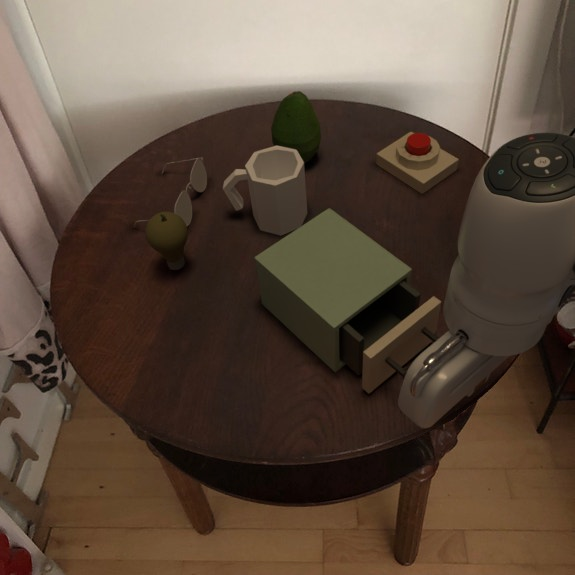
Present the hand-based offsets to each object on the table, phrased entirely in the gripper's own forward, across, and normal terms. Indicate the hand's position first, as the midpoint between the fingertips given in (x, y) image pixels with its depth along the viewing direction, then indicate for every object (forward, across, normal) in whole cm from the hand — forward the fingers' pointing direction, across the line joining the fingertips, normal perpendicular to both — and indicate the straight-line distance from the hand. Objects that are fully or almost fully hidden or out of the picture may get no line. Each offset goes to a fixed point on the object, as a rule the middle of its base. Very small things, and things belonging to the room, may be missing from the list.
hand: (471, 384), depth 65 cm
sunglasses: (+9, -4, +55) cm, 56 cm away
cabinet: (+8, 0, +22) cm, 23 cm away
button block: (+8, +29, +34) cm, 45 cm away
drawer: (+8, 0, +14) cm, 16 cm away
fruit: (+9, +17, +49) cm, 52 cm away
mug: (+9, +5, +42) cm, 43 cm away
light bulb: (+9, -11, +43) cm, 45 cm away
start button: (+5, +29, +34) cm, 45 cm away
